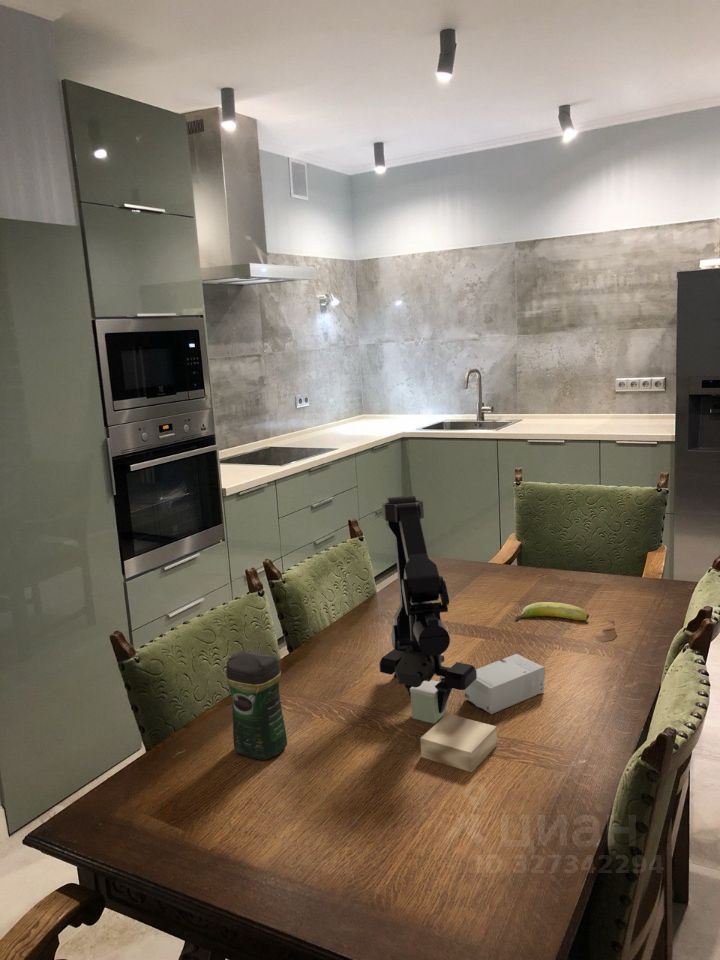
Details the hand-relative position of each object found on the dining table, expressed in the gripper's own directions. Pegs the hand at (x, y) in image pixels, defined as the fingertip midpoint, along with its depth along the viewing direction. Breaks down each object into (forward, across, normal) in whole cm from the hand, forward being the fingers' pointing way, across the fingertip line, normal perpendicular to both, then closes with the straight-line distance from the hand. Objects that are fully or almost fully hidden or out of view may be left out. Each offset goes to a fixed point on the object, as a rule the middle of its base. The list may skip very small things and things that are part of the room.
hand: (429, 709), depth 152 cm
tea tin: (+1, 0, 0) cm, 1 cm away
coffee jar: (+2, -22, -25) cm, 33 cm away
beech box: (+2, +11, -9) cm, 14 cm away
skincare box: (-2, +13, +21) cm, 24 cm away
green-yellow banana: (+2, +4, +58) cm, 58 cm away
